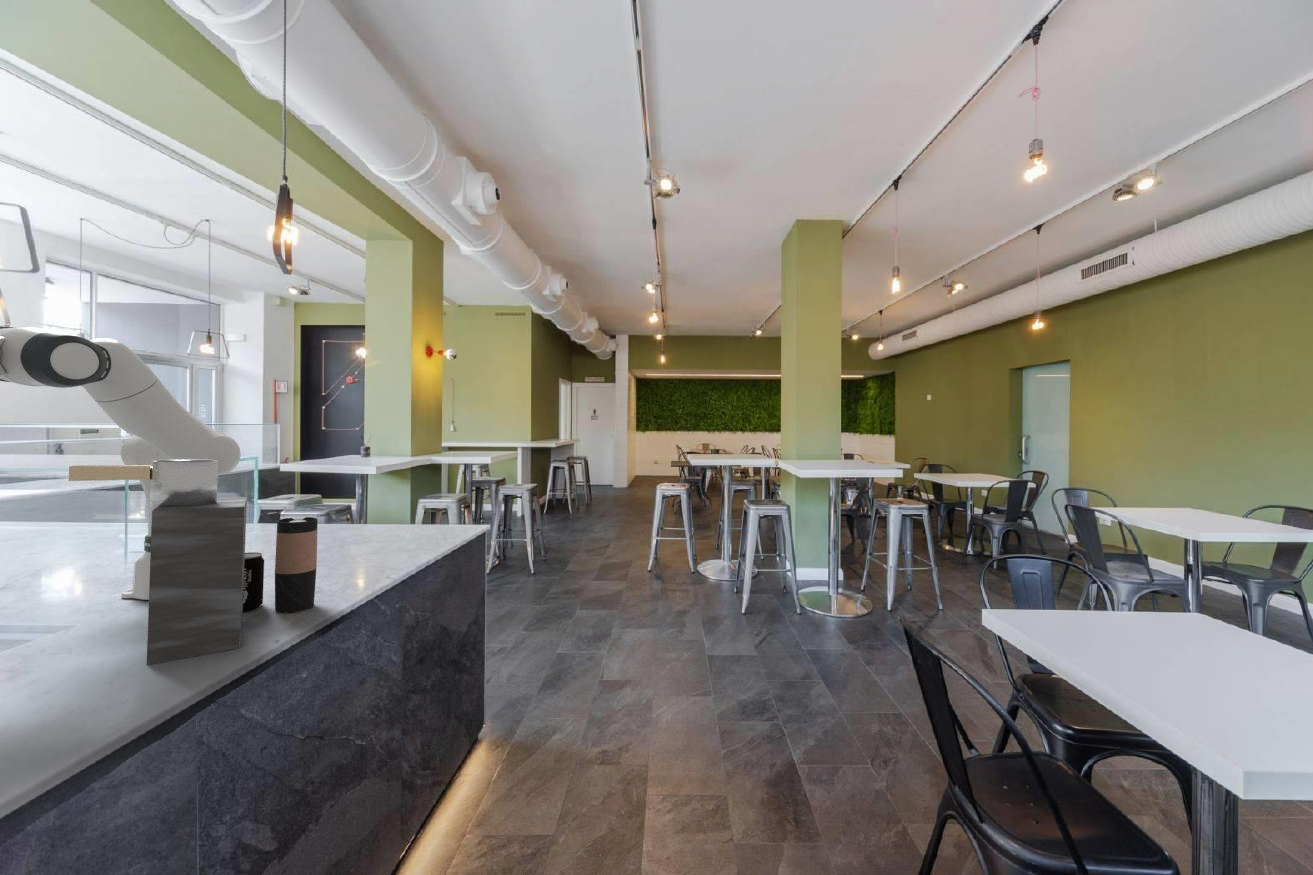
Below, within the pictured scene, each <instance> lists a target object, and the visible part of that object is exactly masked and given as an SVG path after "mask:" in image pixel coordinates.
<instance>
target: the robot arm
mask: <svg viewBox="0 0 1313 875" xmlns="http://www.w3.org/2000/svg"><path fill="white" fill-rule="evenodd" d="M0 381H1V382H6V383H12V384H18V385H21V386H22V385H23V386H30V387H53V388H58V389H63V388H64V389H66V388H76V387H80V386H81V387H82V388H84V389H85V392H87V393H88V395H89V396H90V398H92V399H93V400H94V401H95V403H96V404H98V406H99V407H100V408H101V409H102V410H103V411H104V413H106V415H107V416H109V418H110V419H111V420H112V421H113V422H114V424H116V425H117V427H118V428H120V429H121V430H123V431H125V432H126V433H129V434H131V435H132V436H130V437H128V438H127V439H126V440H125V442H124V443H123V445H122V446H121V449H120V458H121V460H122V463H123V464H124V465H151V461H157V460H163V459H211V460H216V461H218V476H221V475H226V474H229V473H231V472H232V471H233V470H235V468H236V467H238V465H239V462H240V461H241V456H242V455H241V453H242V452H241V450H240V449H241V448H240V446H239V443H237V441H236V440H235V439H234V438H232V437H230V436H227V435H225V434H222V433H221V432H219V431H216V430H214V429H213V428H212V427H210V426H209V425H207V424H206V423H204V422H203V421H201V420H200V419H199V418H197V417H196V416H195V415H193V414H192V413H191V412H189V411H188V410H187V409H186V408H185V407H184V406H182V405H181V404H180V403H179V402H178V400H177V399H176V398H175V397H174V396H173V394H172V393H171V392H170V391H169V389H167V388H166V386H165V385H164V384H163V383H162V381H161V380H160V379H159V377H158V376H157V375H156V374H155V372H154V371H153V370H152V369H151V368H150V367H149V366H148V364H147V363H146V362H144V360H142V358H141V357H140V356H138V355H137V353H135V352H134V351H133V350H132V349H131V348H129V347H128V345H126V344H125V343H123V342H121V341H120V340H117V339H113V338H105V337H104V338H103V337H102V338H101V337H100V338H99V337H98V338H92V339H87V338H85V337H83V336H81V335H78V334H75V333H72V332H68V331H64V330H63V331H62V330H54V329H49V328H43V327H41V328H40V327H33V326H29V327H27V326H26V327H15V326H0ZM138 481H139V483H140V485H141V487H142V489H143V493H144V495H145V498H146V504H147V534H146V535H145V536H144V541H143V546H144V547H143V550H144V551H145V552H144V553H143V555H141V556H140V557H139V558H137V560H135V562H134V566H133V576H132V577H133V579H132V587H130V588H128V589H126V591H123V592H122V593H121V599H137V600H142V601H143V600H146V601H147V600H148V601H149V583H150V554H151V526H152V511H153V510H154V509H155V508H157V507H151V506H150V486H151V479H150V480H138Z"/></svg>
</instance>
